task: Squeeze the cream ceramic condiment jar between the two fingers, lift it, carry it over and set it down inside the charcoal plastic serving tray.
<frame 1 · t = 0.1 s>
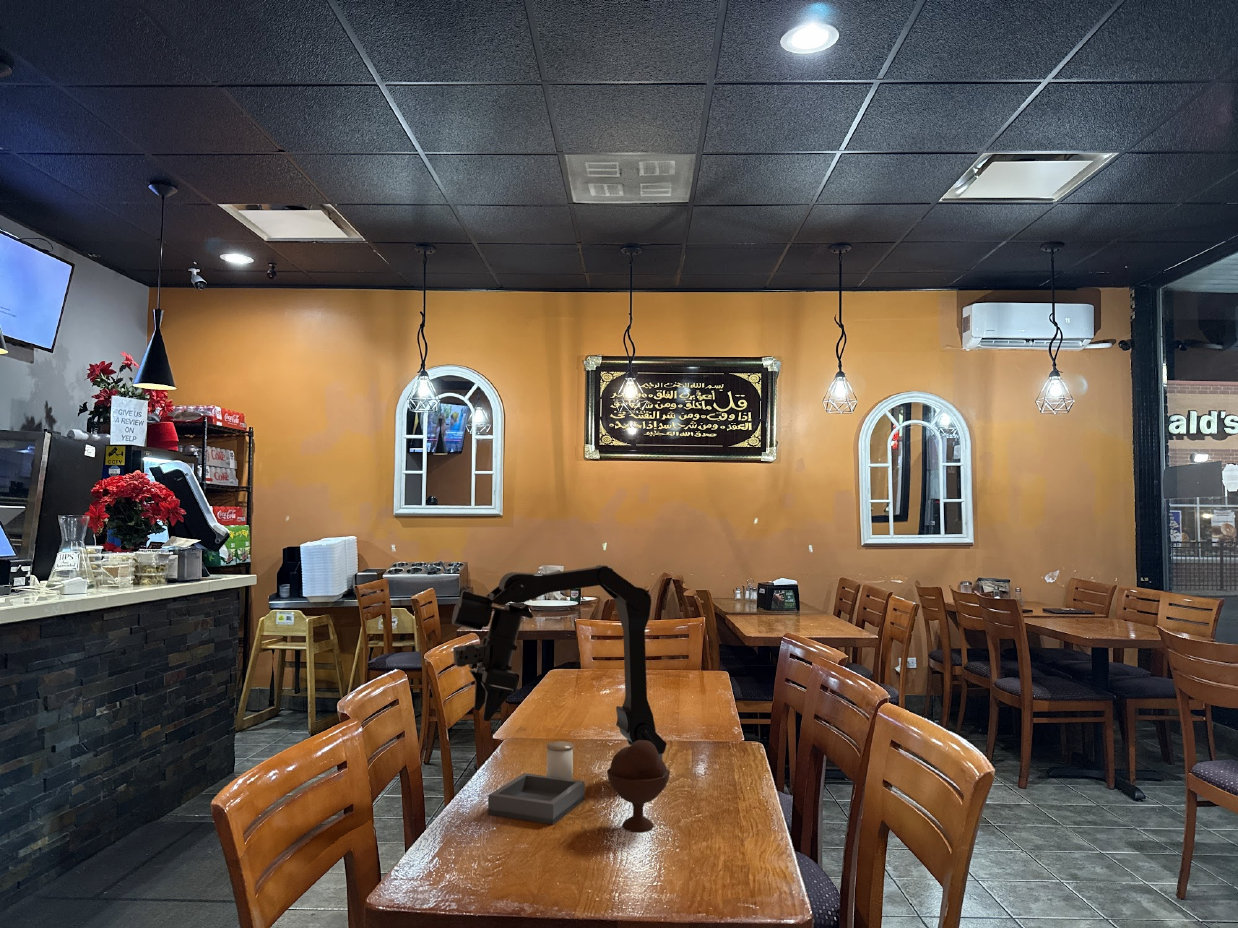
hand: (481, 715, 157), 15 cm above the table, tool pointing down, fingers open, 9 cm apart
cream jar: (559, 785, 164), on the table
ice cream bowl: (637, 827, 142), on the table
serving tray: (537, 806, 151), on the table
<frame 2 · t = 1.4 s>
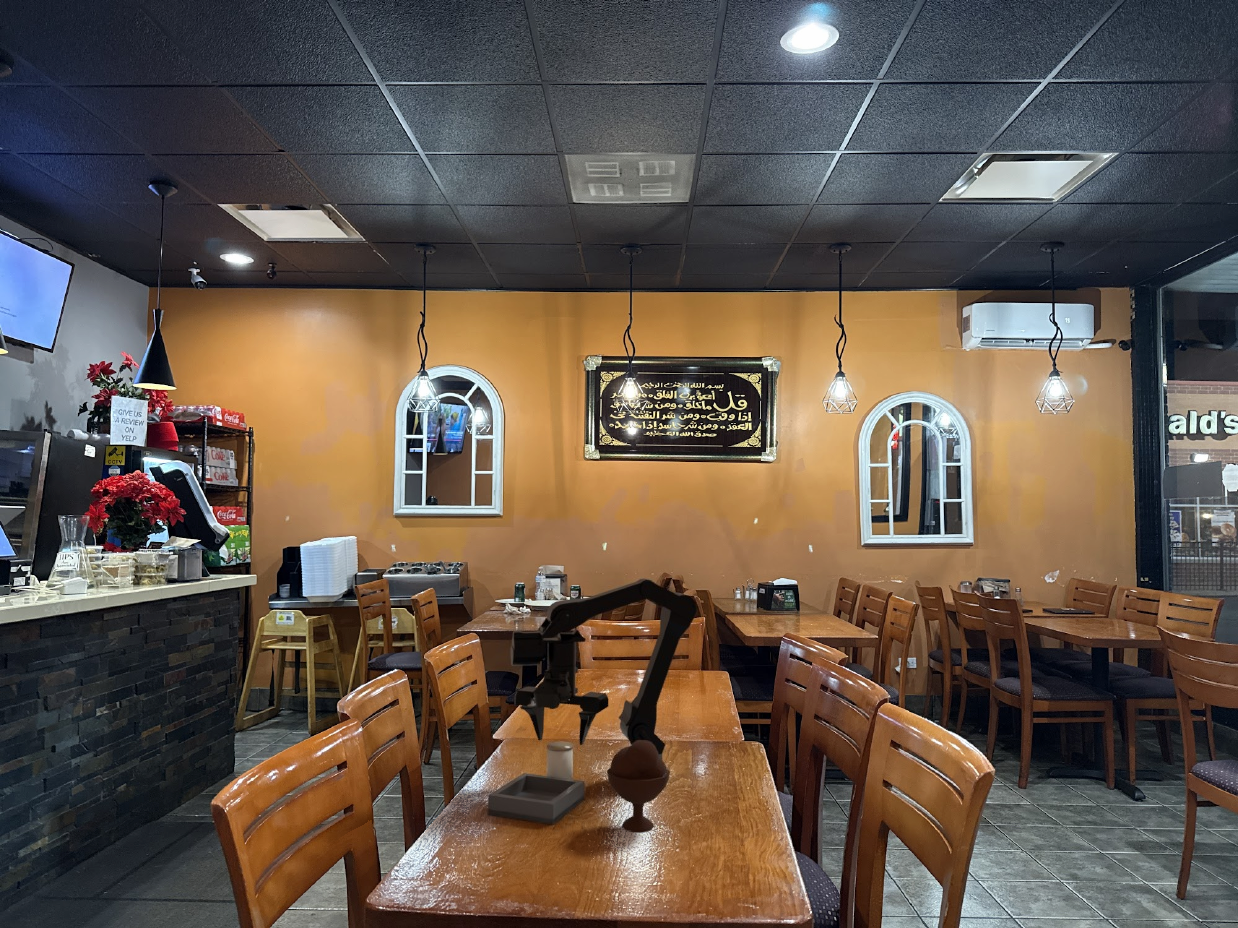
hand: (560, 742, 164), 8 cm above the table, tool pointing down, fingers open, 9 cm apart
nothing on the table moved.
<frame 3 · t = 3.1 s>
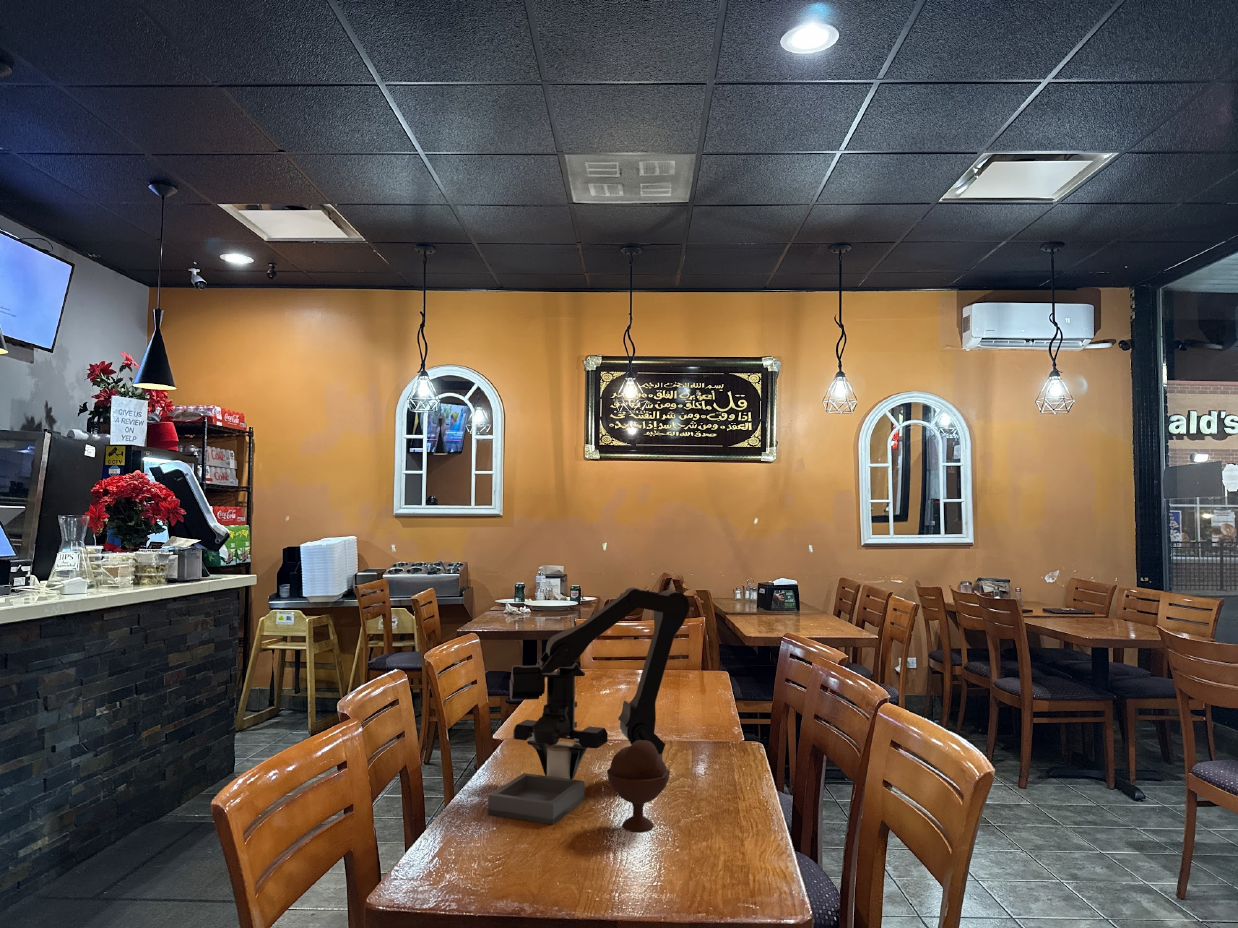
hand: (559, 776, 164), 2 cm above the table, tool pointing down, fingers closed on cream jar, 5 cm apart
cream jar: (559, 785, 164), on the table, touching gripper
everything else where it was.
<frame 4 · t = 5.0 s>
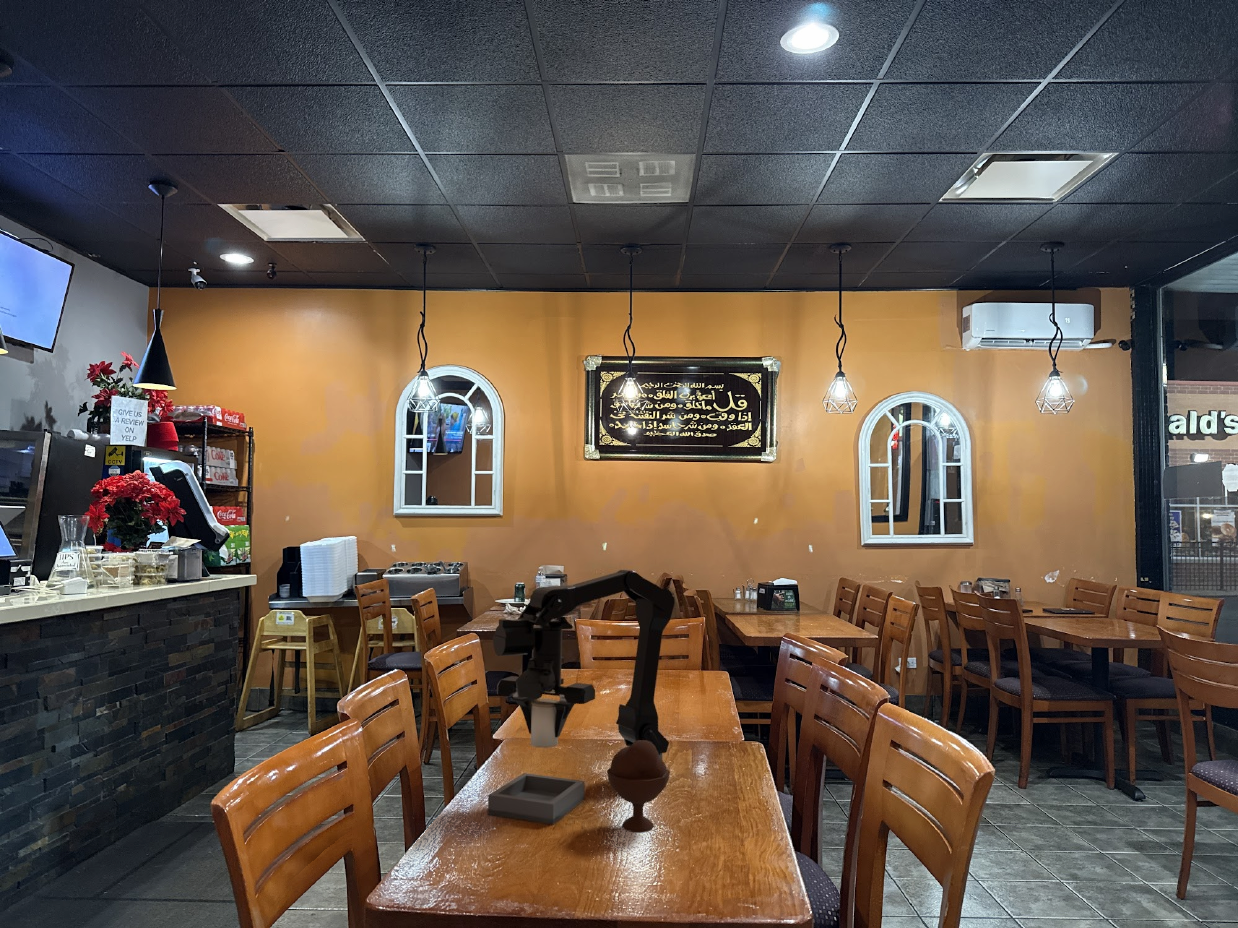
hand: (544, 735, 156), 12 cm above the table, tool pointing down, fingers closed on cream jar, 5 cm apart
cream jar: (544, 743, 156), point 10 cm above the table, touching gripper
everything else where it was.
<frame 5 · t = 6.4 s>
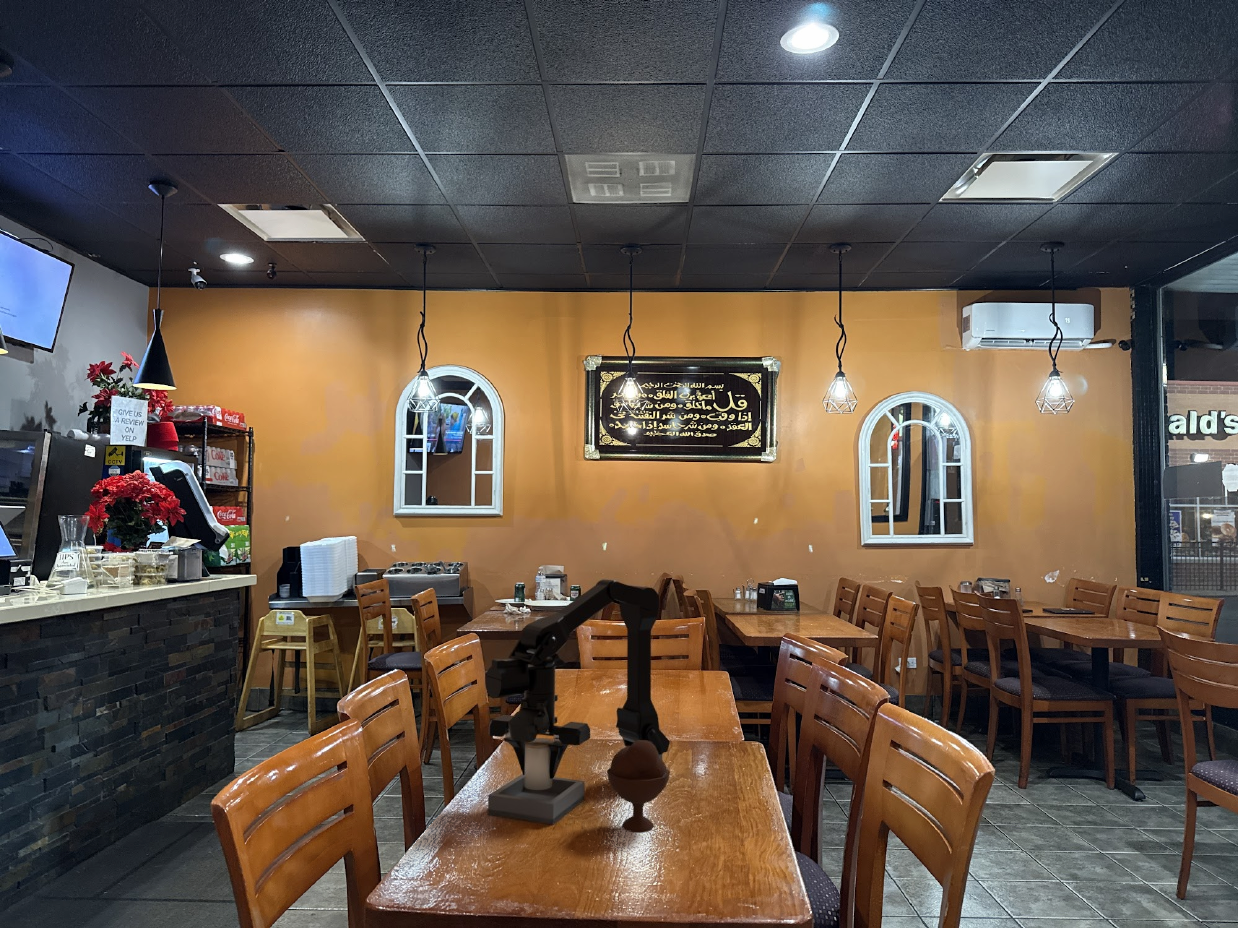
hand: (538, 776, 151), 6 cm above the table, tool pointing down, fingers closed on cream jar, 5 cm apart
cream jar: (538, 785, 151), point 4 cm above the table, touching gripper
everything else where it was.
when the fingers open (5 cm above the table, at t = 7.4 s): cream jar drops 2 cm, resting on serving tray.
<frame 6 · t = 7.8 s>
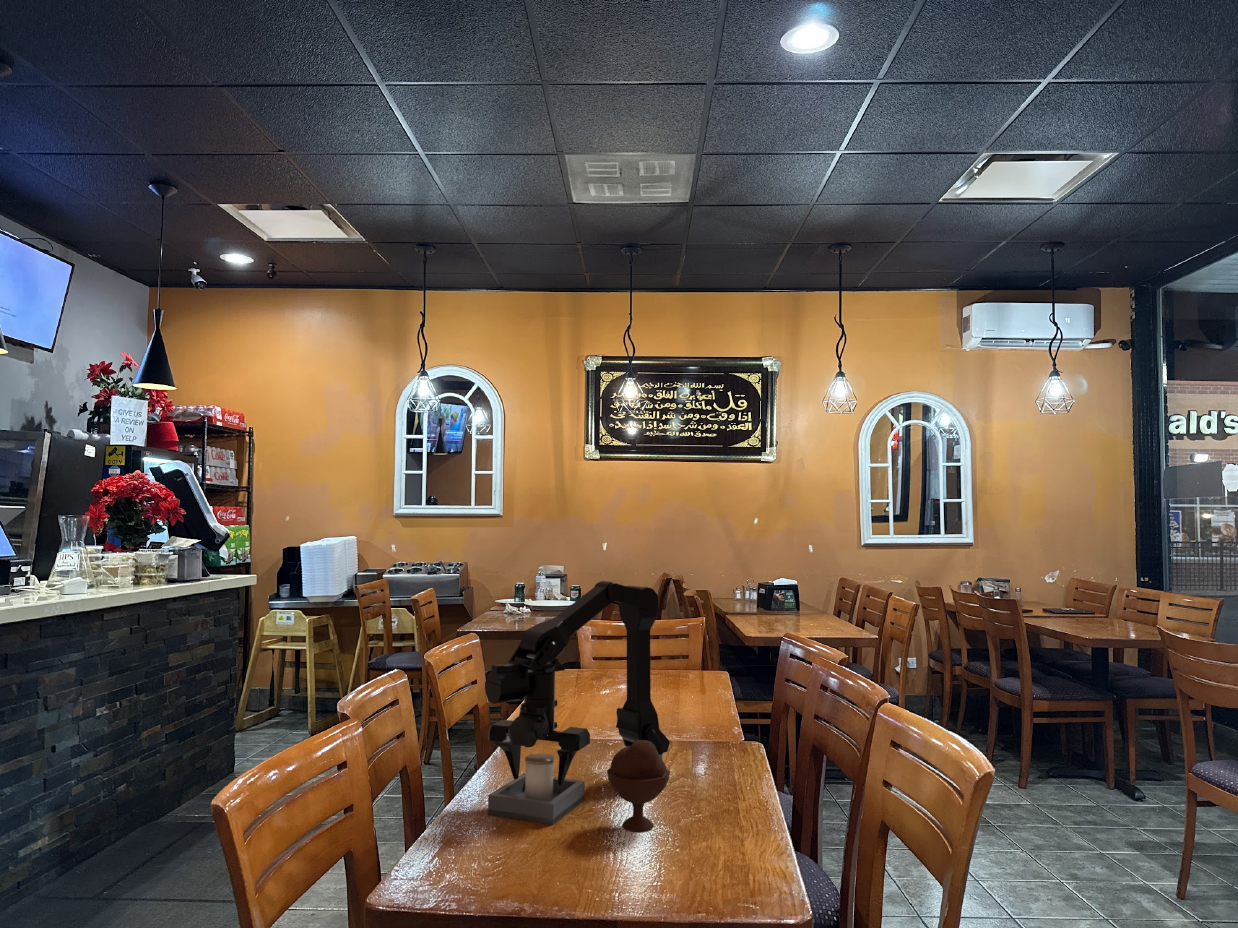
hand: (538, 781, 151), 5 cm above the table, tool pointing down, fingers open, 9 cm apart
cream jar: (538, 801, 151), point 1 cm above the table, touching serving tray
everything else where it was.
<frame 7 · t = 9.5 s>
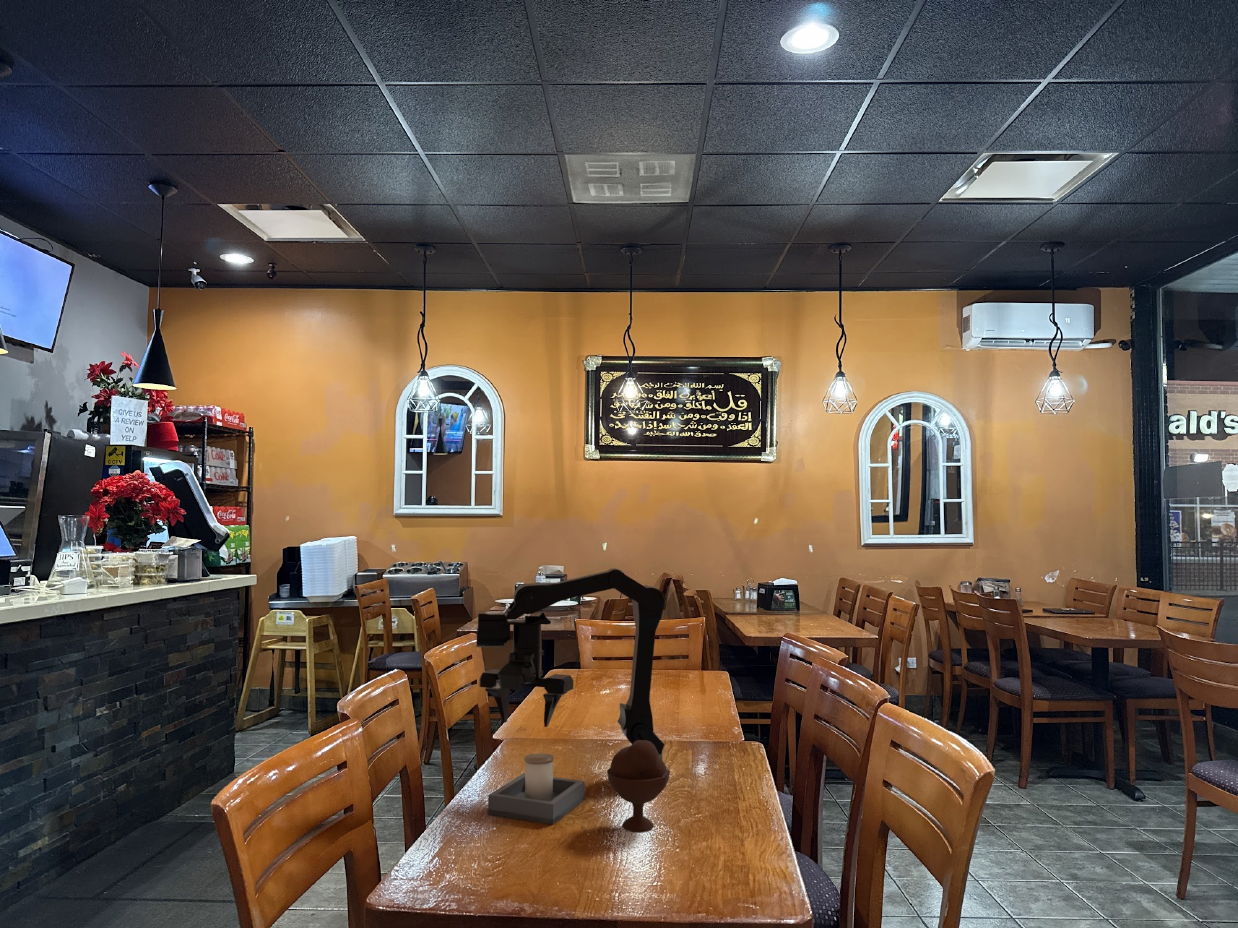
hand: (525, 724, 164), 12 cm above the table, tool pointing down, fingers open, 9 cm apart
nothing on the table moved.
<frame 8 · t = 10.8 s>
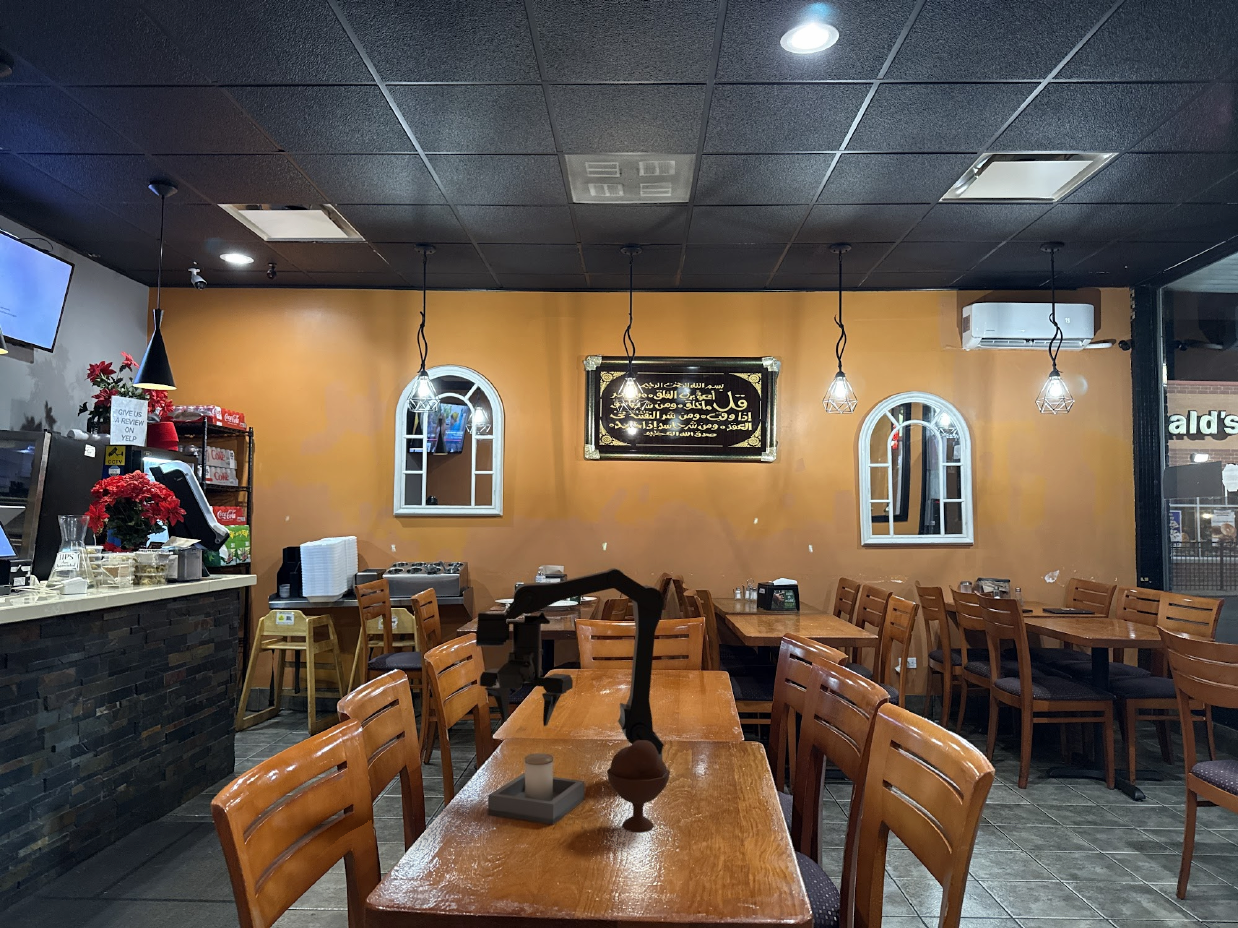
hand: (525, 723, 165), 12 cm above the table, tool pointing down, fingers open, 9 cm apart
nothing on the table moved.
at the end: cream jar 0.2 cm off-centre on the serving tray, point 1.1 cm above the serving tray's base; cream jar tilted 1°; the gripper is holding nothing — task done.
